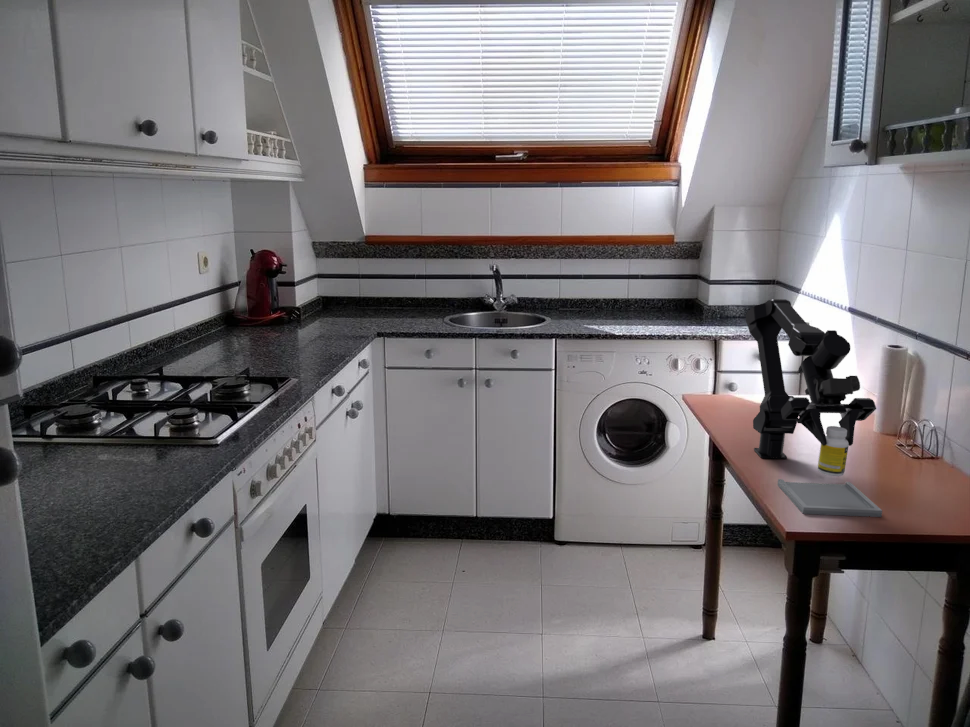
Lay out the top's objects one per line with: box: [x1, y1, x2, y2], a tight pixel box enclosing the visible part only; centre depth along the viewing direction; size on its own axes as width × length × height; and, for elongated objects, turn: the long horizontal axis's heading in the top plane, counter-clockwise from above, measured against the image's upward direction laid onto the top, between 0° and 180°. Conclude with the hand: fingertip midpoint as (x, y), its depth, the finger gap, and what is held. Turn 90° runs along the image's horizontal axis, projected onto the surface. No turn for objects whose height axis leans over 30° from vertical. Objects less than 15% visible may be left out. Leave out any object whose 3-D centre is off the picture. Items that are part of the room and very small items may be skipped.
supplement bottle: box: [816, 425, 850, 477], centre depth 169 cm, size 5×5×10 cm
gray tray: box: [777, 478, 883, 518], centre depth 171 cm, size 16×16×1 cm
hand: (837, 444), depth 167 cm, fingers closed on supplement bottle, 5 cm apart
